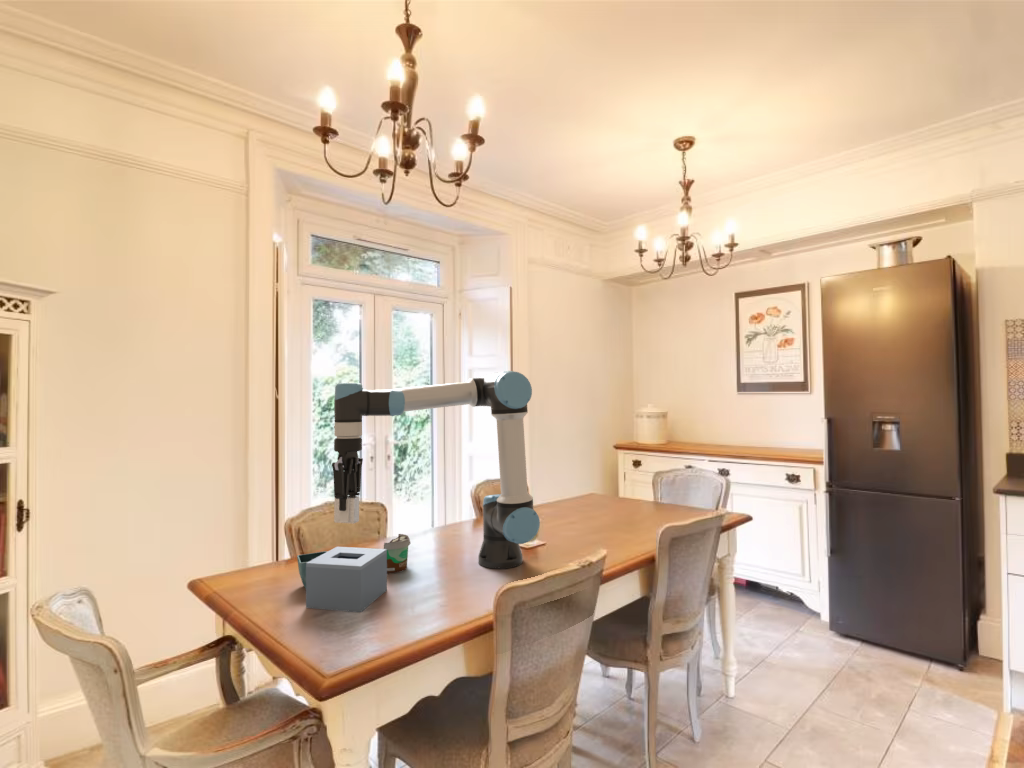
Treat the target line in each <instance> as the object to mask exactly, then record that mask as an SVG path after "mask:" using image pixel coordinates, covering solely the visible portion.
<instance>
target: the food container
mask: <svg viewBox="0 0 1024 768" xmlns="http://www.w3.org/2000/svg"><path fill="white" fill-rule="evenodd" d="M410 545H411V539H410V537H409V535H407V534H403V533H398V537H397V536H396V538H393V539H391V540H389V542H384V543H383V549H387V574H396V573H400V572H403V571H405V570H407V569H408V557H409V546H410Z"/></svg>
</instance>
